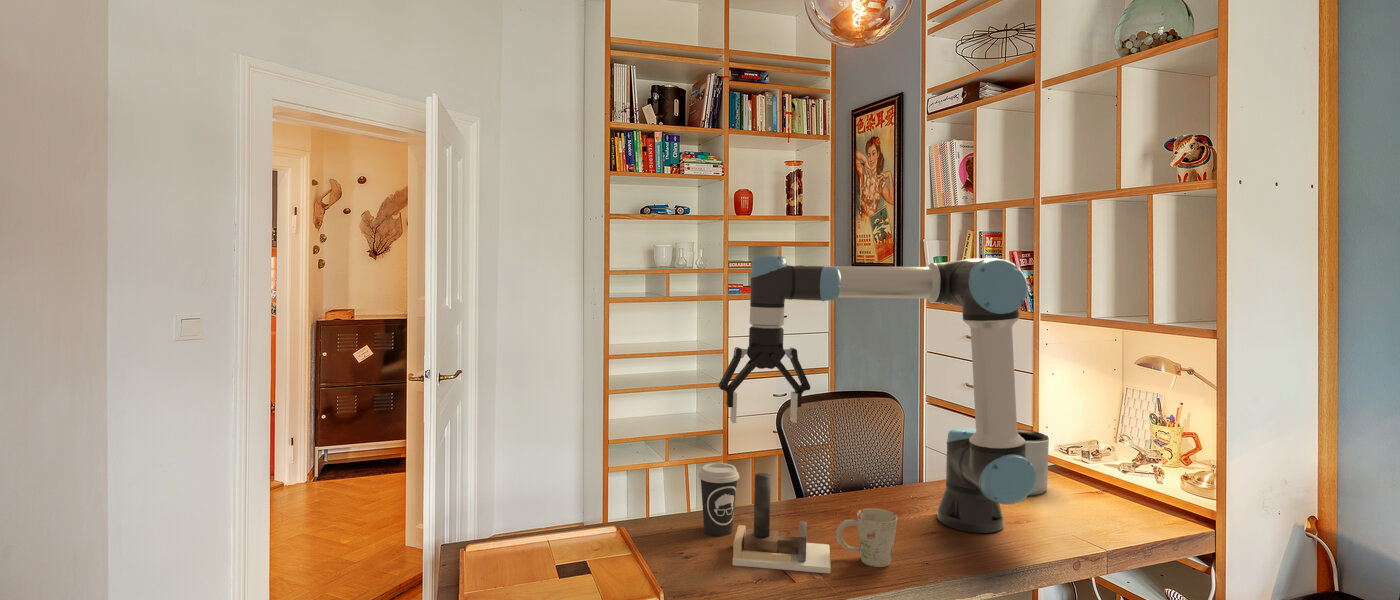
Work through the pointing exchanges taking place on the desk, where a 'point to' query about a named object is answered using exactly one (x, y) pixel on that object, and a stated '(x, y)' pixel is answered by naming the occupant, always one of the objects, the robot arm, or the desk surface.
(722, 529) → the coffee cup
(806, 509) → the desk surface
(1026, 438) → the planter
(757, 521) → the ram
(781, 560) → the white slotted peg base
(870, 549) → the mug
